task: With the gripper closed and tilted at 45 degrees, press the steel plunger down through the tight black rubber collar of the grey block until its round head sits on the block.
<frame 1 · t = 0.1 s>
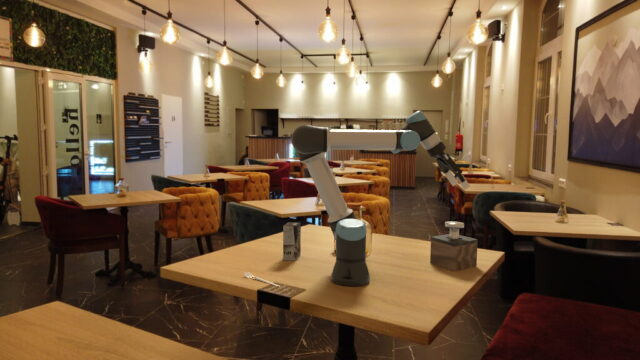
hand: (461, 186, 191), 36 cm above the table, tool tilted 35°, fingers open, 13 cm apart
fork: (262, 282, 178), on the table
socket block: (453, 264, 202), on the table
coffee box: (292, 258, 211), on the table
plunger: (454, 237, 201), point 12 cm above the table, slide at 5.0 cm
teacup: (347, 251, 225), on the table
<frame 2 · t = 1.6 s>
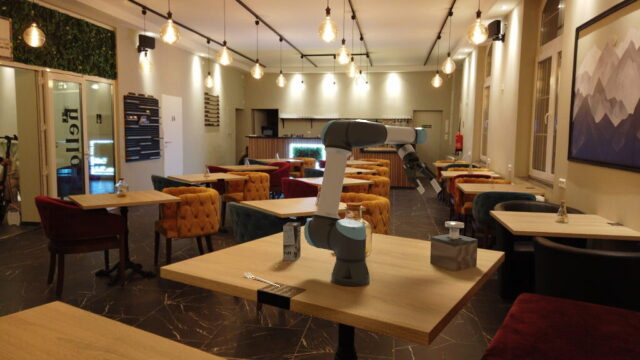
hand: (431, 191, 211), 31 cm above the table, tool tilted 45°, fingers open, 10 cm apart
nothing on the table moved.
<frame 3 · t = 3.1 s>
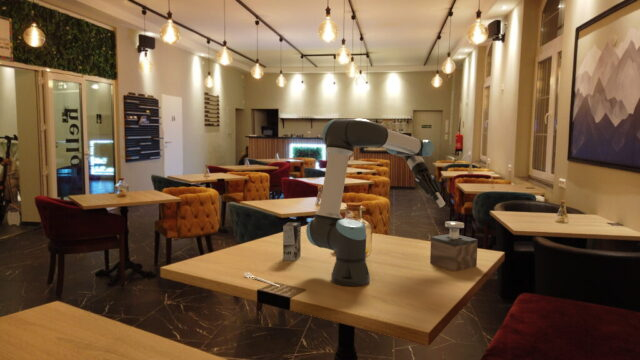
hand: (442, 205, 207), 25 cm above the table, tool tilted 45°, fingers closed
nothing on the table moved.
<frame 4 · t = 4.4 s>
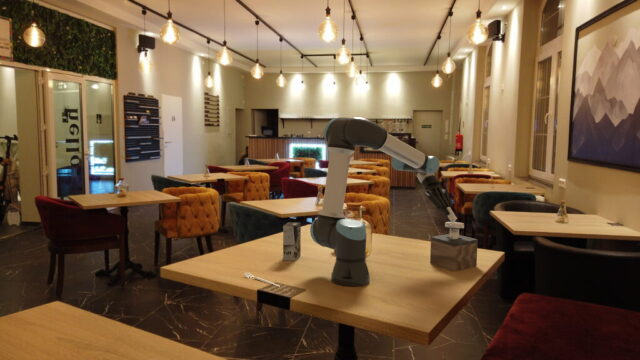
hand: (454, 220, 200), 20 cm above the table, tool tilted 45°, fingers closed
plunger: (454, 237, 201), point 12 cm above the table, slide at 4.8 cm, touching gripper
everything else where it was.
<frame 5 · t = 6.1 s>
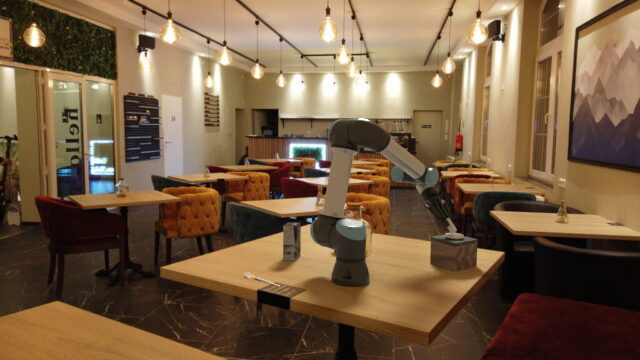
hand: (454, 231, 201), 15 cm above the table, tool tilted 45°, fingers closed
plunger: (453, 248, 201), point 7 cm above the table, slide at -0.2 cm, touching gripper, socket block
everything else where it was.
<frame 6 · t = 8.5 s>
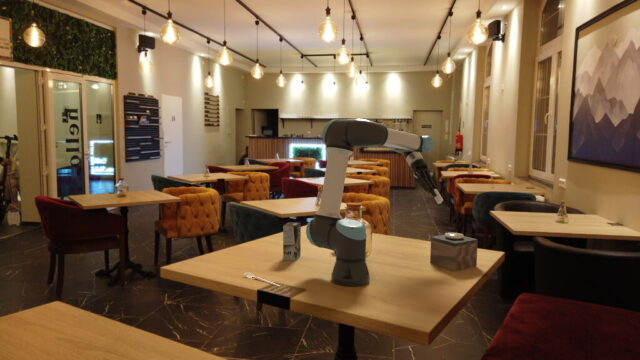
hand: (440, 201, 207), 27 cm above the table, tool tilted 45°, fingers closed
plunger: (453, 248, 201), point 7 cm above the table, slide at -0.1 cm
everything else where it was.
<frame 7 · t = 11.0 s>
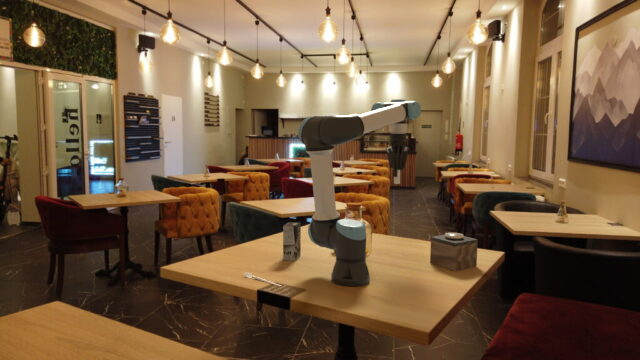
hand: (396, 183, 214), 34 cm above the table, tool pointing down, fingers closed
nothing on the table moved.
at the end: plunger slide at -0.1 cm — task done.
